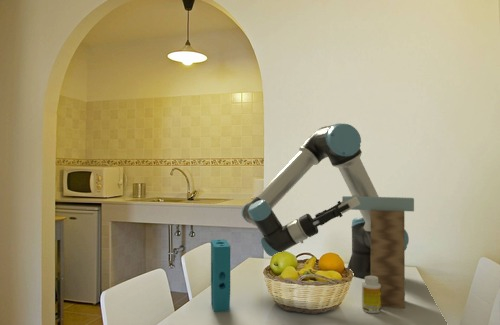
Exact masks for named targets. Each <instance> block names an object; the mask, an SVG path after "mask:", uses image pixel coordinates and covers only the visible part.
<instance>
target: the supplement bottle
mask: <svg viewBox="0 0 500 325" xmlns="http://www.w3.org/2000/svg"><path fill="white" fill-rule="evenodd" d="M361 309H362V310H363V312H365V313H367V314H368V313H369V314H379V313H381V311H382V306H381V285H380V284H379V283H378V277H376V276H365V278H364V282H362V285H361Z"/></svg>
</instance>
